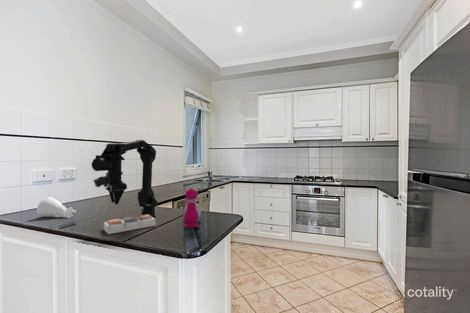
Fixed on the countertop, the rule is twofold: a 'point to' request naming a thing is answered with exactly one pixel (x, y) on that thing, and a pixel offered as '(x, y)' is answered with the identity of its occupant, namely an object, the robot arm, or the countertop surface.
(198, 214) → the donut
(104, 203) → the countertop surface
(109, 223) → the key
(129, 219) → the middle key
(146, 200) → the robot arm
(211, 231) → the countertop surface
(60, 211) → the rocket engine
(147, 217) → the key
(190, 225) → the pepper mill
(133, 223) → the compartment tray
